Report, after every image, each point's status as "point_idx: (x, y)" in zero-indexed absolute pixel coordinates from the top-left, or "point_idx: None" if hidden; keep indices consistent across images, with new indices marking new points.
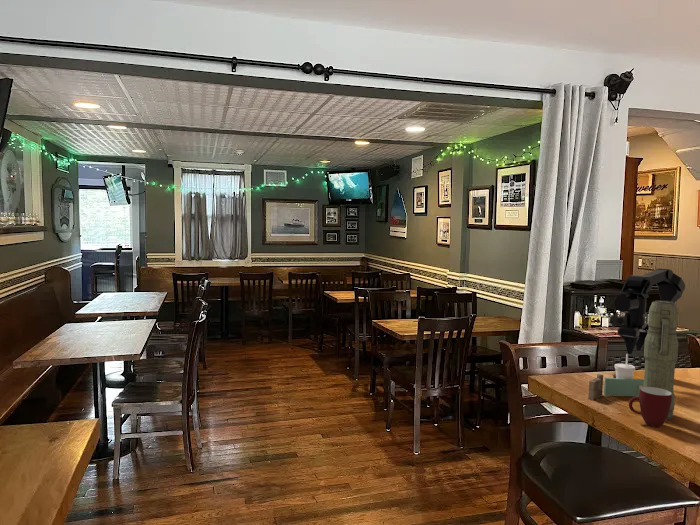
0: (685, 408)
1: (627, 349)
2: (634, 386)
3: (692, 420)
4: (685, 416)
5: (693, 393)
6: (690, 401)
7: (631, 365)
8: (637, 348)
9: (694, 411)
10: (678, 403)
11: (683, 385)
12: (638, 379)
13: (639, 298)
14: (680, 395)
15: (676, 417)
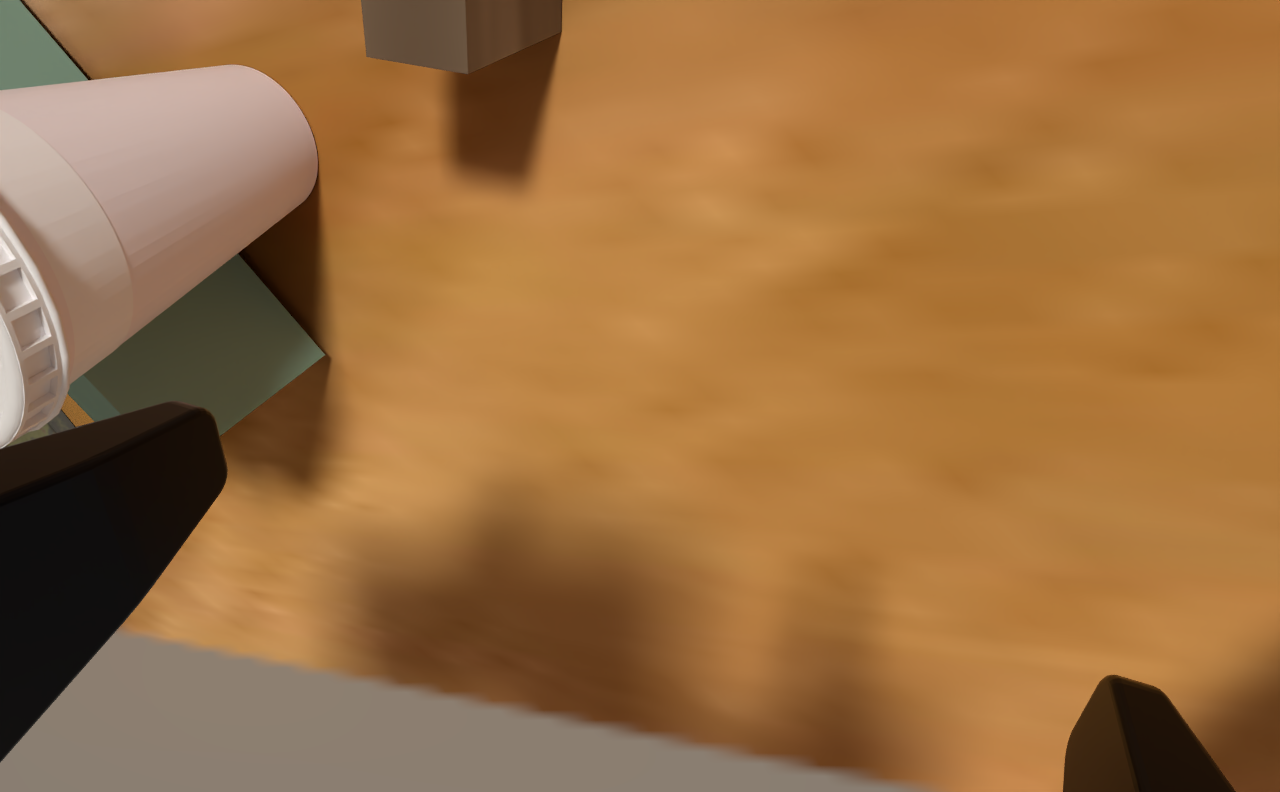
0: (331, 631)
1: (6, 469)
2: None
3: (131, 625)
4: (160, 602)
5: (896, 779)
6: (562, 698)
7: (4, 400)
8: (1097, 750)
9: (319, 670)
10: (414, 608)
11: (1274, 774)
12: (103, 407)
13: None
14: (706, 663)
15: None
